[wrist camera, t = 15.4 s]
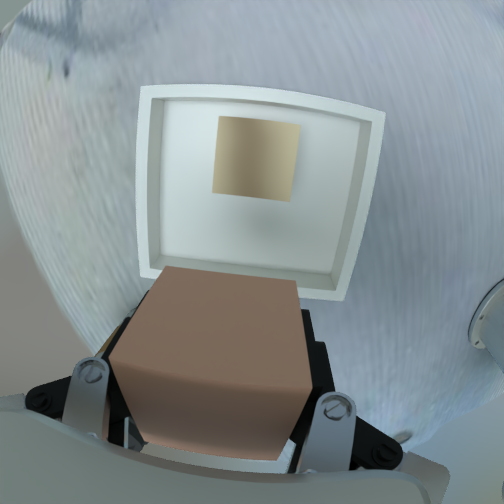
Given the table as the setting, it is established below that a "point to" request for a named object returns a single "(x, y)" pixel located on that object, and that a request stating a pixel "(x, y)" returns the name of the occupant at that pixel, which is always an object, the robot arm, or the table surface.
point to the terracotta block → (215, 363)
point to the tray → (249, 208)
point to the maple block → (255, 158)
